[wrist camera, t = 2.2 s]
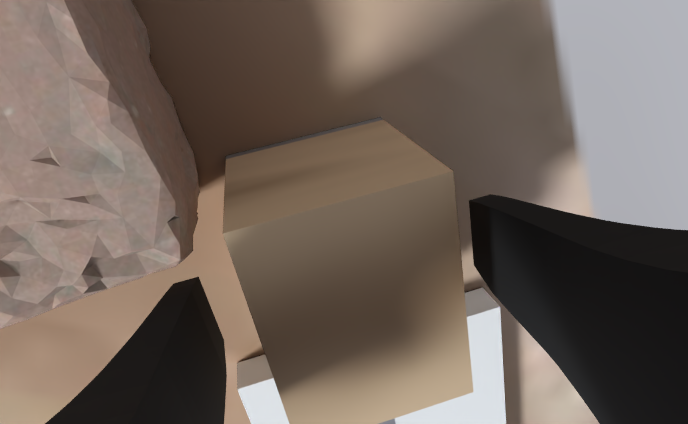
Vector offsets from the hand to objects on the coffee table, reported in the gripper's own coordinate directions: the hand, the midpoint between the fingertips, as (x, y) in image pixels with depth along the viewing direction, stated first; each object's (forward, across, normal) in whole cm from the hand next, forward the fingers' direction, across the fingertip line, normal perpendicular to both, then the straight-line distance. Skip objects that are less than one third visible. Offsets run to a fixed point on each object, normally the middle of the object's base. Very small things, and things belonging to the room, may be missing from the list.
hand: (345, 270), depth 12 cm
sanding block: (+3, 0, 0) cm, 3 cm away
